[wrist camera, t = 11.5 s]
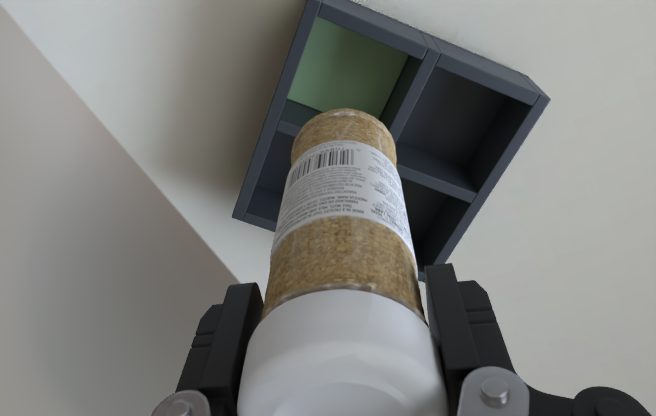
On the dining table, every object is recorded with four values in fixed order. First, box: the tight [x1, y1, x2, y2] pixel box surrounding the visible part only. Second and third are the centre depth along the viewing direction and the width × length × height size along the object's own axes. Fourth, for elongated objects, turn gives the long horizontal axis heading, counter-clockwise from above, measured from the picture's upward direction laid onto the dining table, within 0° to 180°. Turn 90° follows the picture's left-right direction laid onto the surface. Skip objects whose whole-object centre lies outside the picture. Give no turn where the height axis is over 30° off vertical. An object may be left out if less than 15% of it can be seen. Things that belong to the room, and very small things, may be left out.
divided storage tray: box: [232, 0, 551, 283], centre depth 35 cm, size 15×15×5 cm
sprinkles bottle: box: [237, 108, 449, 416], centre depth 16 cm, size 5×5×13 cm
